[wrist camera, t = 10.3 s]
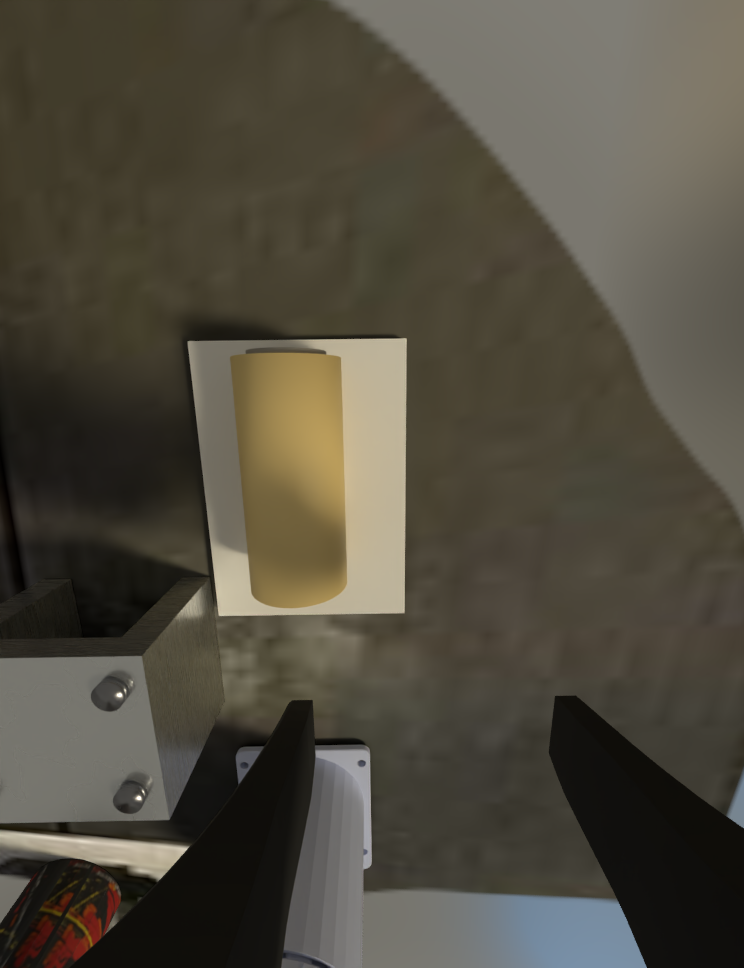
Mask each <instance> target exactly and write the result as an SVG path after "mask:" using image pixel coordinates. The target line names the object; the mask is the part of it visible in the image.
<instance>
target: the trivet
mask: <svg viewBox="0 0 744 968" xmlns="http://www.w3.org/2000/svg"><path fill="white" fill-rule="evenodd" d="M267 347H297V348H312V349H320V350H324V351H326V355H334V356H339V357H341V371H342V407H343V443H344V479H345V515H346V551H347V585H346V587H345V589H344V590H343V591H342V592H341V593H340V594H339V595H337V596H336V597H334V598H332V599H331V600H328V601H326V602H324V603H321V604H317V605H313V606H309V607H302V608H277V607H272V606H268V605H265V604H263V603H261V602H259V601H257V600H256V599H255V598H254V597H253V596H252V593H251V585H250V574H249V562H248V551H247V540H246V529H245V518H244V507H243V496H242V485H241V474H240V463H239V452H238V441H237V430H236V419H235V408H234V396H233V385H232V374H231V363H230V356H233V355H240V354H246V352H245V351H246V350H248V349H254V348H267ZM188 350H189V359H190V368H191V376H192V385H193V394H194V403H195V411H196V420H197V429H198V437H199V446H200V455H201V464H202V472H203V481H204V490H205V499H206V507H207V516H208V525H209V534H210V542H211V551H212V560H213V568H214V577H215V586H216V595H217V603H218V612H219V616H248V615H311V614H374V613H404V606H405V472H406V338H405V339H321V340H238V341H188Z"/></svg>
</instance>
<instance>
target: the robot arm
mask: <svg viewBox="0 0 744 968" xmlns="http://www.w3.org/2000/svg"><path fill="white" fill-rule="evenodd" d="M549 755H550V757H551V760H552V763H553V765H554V768H555V771H556V774H557V776H558V779H559V781H560V784H561V786H562V789H563V791H564V794H565V796H566V798H567V800H568V802H569V804H570V806H571V808H572V810H573V812H574V814H575V816H576V818H577V820H578V822H579V824H580V826H581V828H582V830H583V832H584V834H585V836H586V838H587V840H588V842H589V844H590V846H591V848H592V850H593V852H594V854H595V856H596V858H597V860H598V862H599V864H600V866H601V868H602V870H603V872H604V874H605V876H606V878H607V879H608V881H609V883H610V885H611V887H612V889H613V891H614V893H615V895H616V898H617V900H618V902H619V904H620V906H621V908H622V910H623V912H624V914H625V917H626V919H627V921H628V924H629V926H630V928H631V931H632V933H633V935H634V938H635V940H636V943H637V945H638V947H639V950H640V952H641V955H642V957H643V959H644V962H645V964H646V966H647V968H744V828H742V827H741V826H739V825H738V824H736V823H735V822H734V821H732V820H731V819H729V818H728V817H726V816H725V815H724V814H722V813H721V812H719V811H718V810H716V809H715V808H714V807H712V806H711V805H709V804H708V803H707V802H705V801H704V800H703V799H701V798H700V797H698V796H697V795H696V794H694V793H693V792H692V791H690V790H689V789H688V788H687V787H685V786H684V785H683V784H681V783H680V782H679V781H677V780H676V779H675V778H674V777H672V776H671V775H670V774H668V773H667V772H666V771H665V770H663V769H662V768H661V767H660V766H658V765H657V764H656V763H655V762H653V761H652V760H651V759H650V758H649V757H647V756H646V755H645V754H644V753H642V752H641V751H640V750H639V749H638V748H636V747H635V746H634V745H633V744H632V743H630V742H629V741H628V740H627V739H626V738H625V737H623V736H622V735H621V734H620V733H619V732H618V731H616V730H615V729H614V728H613V727H612V726H611V725H609V724H608V723H607V722H606V721H605V720H604V719H602V718H601V717H600V716H599V715H598V714H597V713H596V712H594V711H593V710H592V709H591V708H590V707H589V706H587V705H586V704H585V703H584V702H583V701H581V700H580V699H579V698H578V697H577V696H555V702H554V711H553V719H552V728H551V737H550V746H549ZM359 760H364V761H359ZM244 762H246V763H244ZM236 766H237V775H238V784H239V785H238V786H237V788H236V789H235V790H234V792H233V793H232V795H231V796H230V797H229V799H228V800H227V801H226V803H225V804H224V805H223V807H222V808H221V809H220V811H219V812H218V813H217V814H216V816H215V817H214V818H213V819H212V821H211V822H210V823H209V824H208V826H207V827H206V828H205V829H204V831H203V832H202V833H201V834H200V835H199V837H198V838H197V839H196V840H195V841H194V842H193V844H192V845H191V846H190V847H189V848H188V849H187V850H186V852H185V853H184V854H183V855H182V856H181V857H180V858H179V860H178V861H177V862H176V863H175V864H174V865H173V866H172V867H171V868H170V870H169V871H168V872H167V873H166V874H165V875H164V876H163V877H162V878H161V879H160V880H159V881H158V882H157V883H156V885H155V886H154V887H153V888H152V889H151V890H150V891H149V892H148V893H147V894H146V895H145V896H144V897H143V898H142V899H141V900H140V901H139V902H138V903H137V904H136V905H135V906H134V907H133V908H132V909H131V910H130V911H129V912H128V913H127V914H126V915H125V916H124V917H123V918H122V919H121V920H120V921H119V922H118V923H117V924H116V925H115V926H114V927H113V928H111V929H110V930H109V931H108V932H107V933H106V934H105V935H104V936H103V937H102V938H101V939H100V940H99V941H98V942H96V943H95V944H94V945H93V946H92V947H91V948H90V949H89V950H88V951H86V952H85V953H84V954H83V955H82V956H81V957H80V958H79V959H78V960H77V961H75V962H74V963H73V964H72V965H71V966H70V967H69V968H362V939H363V869H367V868H369V867H370V866H371V863H372V852H371V792H370V750H369V748H368V747H367V746H365V745H315V736H314V718H313V700H293V701H291V702H290V703H289V704H288V706H287V708H286V710H285V712H284V713H283V715H282V717H281V719H280V721H279V723H278V724H277V726H276V728H275V730H274V731H273V733H272V735H271V736H270V738H269V740H268V741H267V743H266V744H265V746H257V747H241V748H240V749H239V750H238V751H237V754H236Z"/></svg>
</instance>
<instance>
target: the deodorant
mask: <svg viewBox="0 0 744 968" xmlns="http://www.w3.org/2000/svg"><path fill="white" fill-rule="evenodd" d="M120 899H121V892H120V889H119V885H118V884H117V882H116V881H115V879H114V878H113V877H112V876H111V875H110V874H109V873H108V872H107V871H106V870H104V869H102V868H101V867H99V866H97V865H95V864H93V863H90V862H87V861H83V860H76V859H60V860H57V861H53V862H50V863H48V864H46V865H44V866H42V867H41V868H40V869H39V870H38V871H37V872H36V873H35V875H34V876H33V877H32V879H31V880H30V882H29V883H28V885H27V886H26V887H25V889H24V890H23V892H22V893H21V895H20V896H19V898H18V899H17V901H16V902H15V903H14V905H13V906H12V908H11V909H10V911H9V912H8V913H7V915H6V916H5V918H4V919H3V921H2V922H1V923H0V968H69V967H70V966H71V965H72V964H73V963H74V962H75V961H77V960H78V959H79V958H80V957H81V956H82V955H83V954H84V953H85V952H86V951H88V950H89V949H90V948H91V947H92V946H93V945H94V944H95V943H96V942H98V941H99V940H100V939H101V938H102V937H103V936H104V934H105V932H106V930H107V928H108V926H109V924H110V922H111V920H112V918H113V916H114V914H115V912H116V910H117V908H118V906H119V904H120Z"/></svg>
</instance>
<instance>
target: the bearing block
mask: <svg viewBox="0 0 744 968" xmlns="http://www.w3.org/2000/svg"><path fill="white" fill-rule="evenodd" d="M224 702H225V700H224V691H223V683H222V674H221V666H220V657H219V649H218V640H217V632H216V623H215V615H214V606H213V597H212V589H211V580H210V577H182V578H181V579H180V580H179V581H178V582H177V583H176V584H175V585H174V586H173V587H172V588H171V589H170V590H169V591H168V592H167V593H166V594H165V595H164V596H163V597H162V598H161V599H160V600H159V601H158V602H157V603H156V604H155V605H154V606H153V607H152V608H151V609H150V610H149V611H148V612H147V613H146V614H145V615H144V616H143V617H142V618H141V619H140V620H139V621H138V622H137V623H136V624H135V625H134V626H133V627H131V628H130V629H129V630H128V631H127V632H126V633H125V634H124V635H123V636H122V637H107V638H83V634H82V629H81V624H80V619H79V615H78V610H77V605H76V600H75V595H74V590H73V585H72V581H71V579H43V580H41V581H40V582H38V583H36V584H34V585H33V586H31V587H29V588H27V589H26V590H24V591H22V592H20V593H19V594H17V595H15V596H13V597H12V598H10V599H8V600H6V601H5V602H3V603H1V604H0V823H30V822H84V821H138V820H170V818H171V816H172V813H173V811H174V809H175V807H176V805H177V803H178V801H179V799H180V796H181V794H182V792H183V790H184V788H185V786H186V784H187V781H188V779H189V777H190V775H191V773H192V771H193V769H194V766H195V764H196V762H197V760H198V758H199V756H200V754H201V751H202V749H203V747H204V745H205V743H206V741H207V739H208V736H209V734H210V732H211V730H212V728H213V726H214V724H215V721H216V719H217V717H218V715H219V713H220V711H221V709H222V706H223V704H224Z"/></svg>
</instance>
